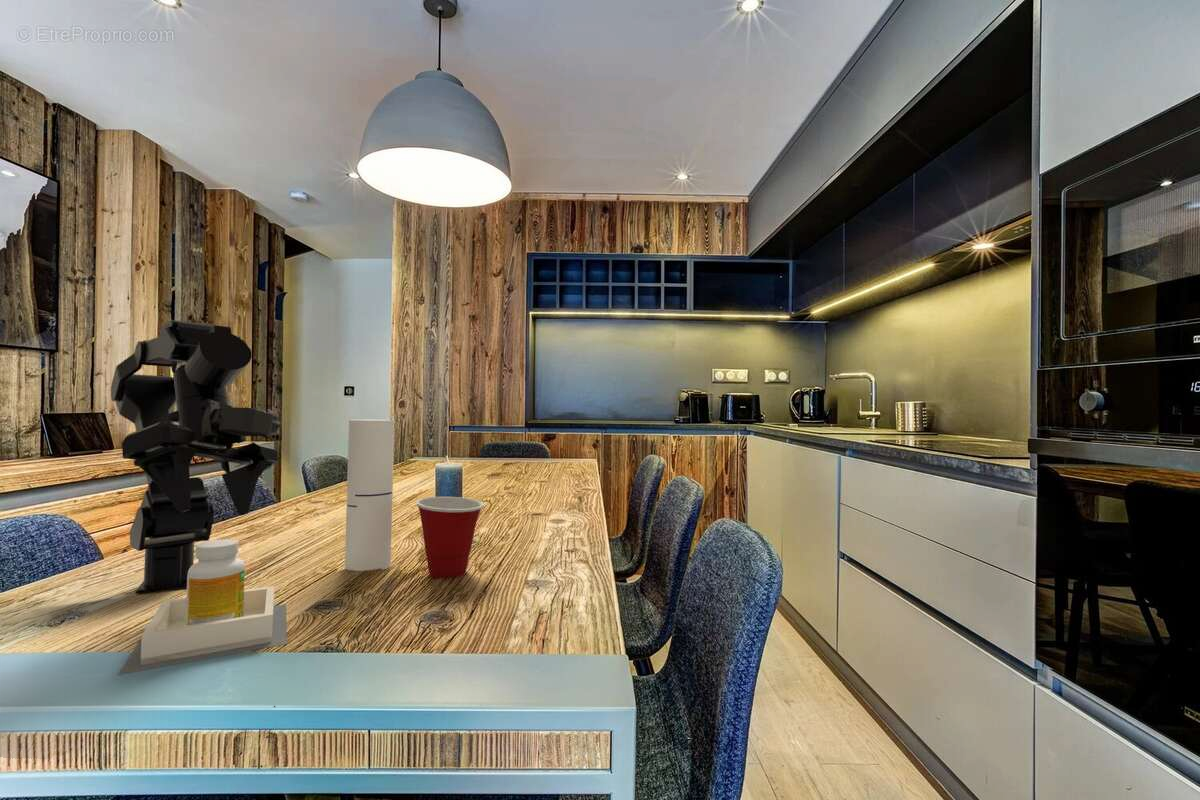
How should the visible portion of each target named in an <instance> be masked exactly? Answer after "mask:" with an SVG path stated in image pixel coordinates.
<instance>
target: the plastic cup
mask: <svg viewBox="0 0 1200 800" xmlns="http://www.w3.org/2000/svg"><path fill="white" fill-rule="evenodd" d="M416 506H417V507H418V510H419V515H420V522H421V526H422V534H423V535H422V536H423V543H424V551H425V556H426V561H427V569H428V572H429V577H431V578H434V579H435V578H436V579H454V578H459V577H462V576H464V575H465V574H466V572H467V569H468V564H469V558H470V553H471V550H472V545H473V540H474V535H475V530H476V524H477V522H478V518H479V516H480V513H481V511H482V509H483V508H484V507H485V504H484V502H482V501H479V500H477V499H473V498H467V497H458V496H430V497H429V496H428V497H423V498H420V499H418V500H416Z"/></svg>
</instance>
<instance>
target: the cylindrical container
mask: <svg viewBox="0 0 1200 800" xmlns="http://www.w3.org/2000/svg"><path fill="white" fill-rule="evenodd" d="M347 445H348V448H347V474H346V475H347V477H346V480H347V481H346V483H347V484H346V508H345V509H346V514H345V515H346V517H345V518H346V519H345V551H344V554H345V555H344V570H345V571H346V570H349V571H354V572H355V571H356V572H361V571H362V572H363V571H365V572H366V571H373V570H379V569H381V570H382V571H385V570H388V569H389V568H390V567H391V566H392V532H393V531H392V526H393V523H392V522H393V490H394V489H393V488H394V454H395V453H394V452H395V451H394V450H395V449H394V448H395V447H394V446H395V420H394V419H348V444H347ZM390 565H391V566H390ZM388 567H389V568H388ZM387 568H388V569H387ZM384 569H385V570H384Z"/></svg>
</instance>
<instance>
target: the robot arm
mask: <svg viewBox="0 0 1200 800" xmlns="http://www.w3.org/2000/svg"><path fill="white" fill-rule="evenodd" d="M252 356H253V355H252V349H251V348H250V347H249V345H248V344H247V343H246V342H245V341H244V340H243V339H242V338H240V336H237V335H235V334H233V333H232V327H230V326H227V325H218V324H207V323H200V322H190V321H183V320H173V319H170V320H168V321H167V322H166V323H165V324H164V325H163V326H162V327H161V328H160V330H159V334H158V336H156V337H154V338H151V339H148V340H146V339H145V340H142V341H140V340H138V341H137V343H136V345H135V349H134V352H133V353H132V354H131V355H129V356H128V357H127V358H126V359H124V360H122V361H121V362H120V363H119V364H117V365H116V366H115V370H114V374H113V377H112V381H111V386H110V399H111V401H113V402H115V405H116V407H117V412H118V414H119V415H120V416H122V417H123V418H125V419H127V420H128V421H129V422H131V423H133V424H134V427H135V431H133V432H131V433H128V434H127V435H126V436H125V438H124V439H123V440H122V442H121V448H122V449H121V450H122V453H121V454H122V458H123V459H127V460H131V461H132V460H133V465H134V466H135V467H138V468H140V469H141V470H143V472H144V473H145V478H146V483H147V487H148V488H147V489H146V491H144V496H143V499H142V501H141V503H140V507H138V508H137V510H136V513H135V516H134V519H133V522H132V524H131V527H130V530H129V545H130V547H131V548H133V549H134V550H136V551H137V552H140V551H142V552H143V551H144V550H145V551H144V570H143V571H144V572H143V573H144V574H143V581H142V582H141V583H140V585H138V587H137V588H136V590H135V594H145V593H151V592H153V593H154V592H160V591H169V590H178V589H187V576H188V570H189V568H190V567H191V566H192V565H194V564H195V563H194V561H195V542H202V541H203V542H209V540H210V538H211V533H212V528H213V522H214V518H215V514H216V510H215V508H214V506H213V503H212V501H210V500H209V499H208V497H209V495H208V494H207V493H206V489H205V483H204V481H203V480H202V479H201V477H200V476H197V477H196V476H195V477H191V476H190V464H191V462H192V460H193V458H194V457H199V458H204V459H209V460H216V461H220V465H221V468H222V469H223V471H224V472H225V473H224V474H221V477H222V480H223V482H224V484H225V486H226V489H227V491H228V493H229V496H230V498H231V501H232V503H233V505H234V508H235V509H236V511H237V514H238V515H239V516H244V515H245V516H246V515H248V514H249V513H250V509H251V507H252V506H251V505H252V502H253V498H254V495H255V494H254V493H255V490H256V487H257V484H258V480H259V478H260V476H261V475H262V474H263V473H264V471H266V470H269V469H270V468H272V466H274V465H277V464H279V458H278V456H279V455H278V452H277V451H278V450H277V449H275V448H274V447H273V446H270V445H266V444H261V443H258V442H251V443H248V444H245V445H244V446H240V447H237V448H234V447H233V446H234V444H240V443H241V444H242V443H243V442H244V443H245V442H247V438H246V437H262V438H270V437H271V434H276V433H277V432H278V430H279V428H280V426H281V423H280V420H279V417H278V413H277V411H274V410H271V409H266V410H264V409H263V410H262V409H257V408H254V407H253V408H252V407H245V406H244V407H236V406H233V405H230V403H229V398H228V390H227V387H229V386H231V385H233V383H234V382H235V381H236V380H237V378H238V377H239V376H240V375H241V373H243V371H244V370H245V368H246V367H247V366H248V365H249V363H250V362H251V360H252ZM182 363H184V364H183V365H181V366H179V367H178V364H182ZM143 366H153V367H154V366H155V367H166V368H167V367H169V368H170V370H171V372H172V373H173V377H172V376H167V375H154V374H153V375H149V374H148V375H147V374H137V372H138V371H140V370H141V369H142V367H143ZM175 405H176V411H174V410H175V409H174V408H175ZM175 423H178V424H175Z"/></svg>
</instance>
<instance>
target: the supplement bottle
mask: <svg viewBox="0 0 1200 800" xmlns="http://www.w3.org/2000/svg"><path fill="white" fill-rule="evenodd" d="M238 554H239V541H238V540H237V539H218V540H217V539H216V540H210V541H209V540H208V541H203V542H201V543H198V544H197V545H196V546H195V558H196V559H197V560H198V561H197V562H196V563H194V565H192V566H191V567H190V568H189V570H188V576H187V587H186V598H187V600H186V625H193V624H199V623H206V622H213V621H219V620H226V619H232V618H239V617H243V614H244V590H245V577H246V576H245V573H246V572H245V569H246V568H245V567H246V565H245V561H244V560H242V558H239V557H237V555H238Z"/></svg>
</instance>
